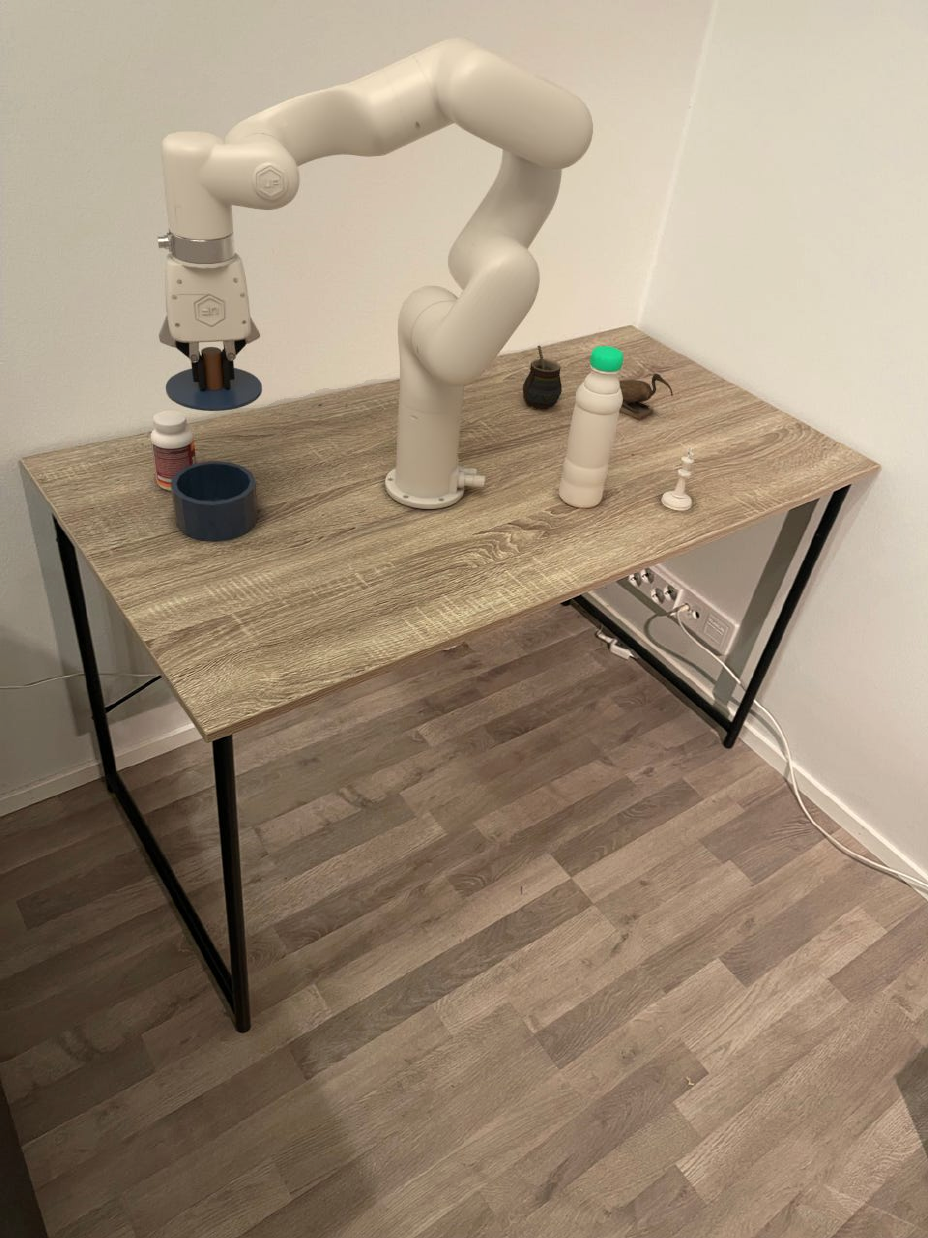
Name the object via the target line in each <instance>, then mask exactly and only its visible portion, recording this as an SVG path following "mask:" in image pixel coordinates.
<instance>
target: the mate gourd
mask: <svg viewBox="0 0 928 1238" xmlns="http://www.w3.org/2000/svg"><path fill="white" fill-rule="evenodd" d="M537 349H538V355H539V358H537V359H534V360H532V361H531V362H530V366H529V372H528V375H527V376H526V378H525V380H524V382H523V385H522V397H523V401H524V402H525V404H526V405H527V406H528V407H529V408H532V409H533V410H538V411H546V410H550V409H551V408H553V407H555V405H557V403H558V402H559V401H558V400H559V399H560V397H561V395H562V392H563V387H562V380H561V376H560V374H561V369H562V367H561V365H560V363H558V362H557V361H555V360H552V359H546V358H544V356H543V350H542V347H541V345H537Z"/></svg>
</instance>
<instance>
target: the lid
mask: <svg viewBox="0 0 928 1238" xmlns="http://www.w3.org/2000/svg"><path fill="white" fill-rule="evenodd" d="M200 355H201V356H202V360H203V363H204V373H205V385H206V389H204V390H202V391H200V387H199V383H198V382H194V381H193V376H192V367H191V368H188V369H185V370H181V371H179V372H178V373H176V374H174V375H173V376H171V377H170V378H168V380H167V382H166V383H165V392H166V395H167V397H168V399H170V400H171V401H172V402H174V403H175V404H177V405H179V406H182V407H184V408H188V409H191V410H196V411H205V412H222V411H224V412H225V411H231V410H236V409H240V408H243V407H246V406H249V405H251V404H252V403H254V402H255V401H257V400H258V399H259V398H260V396H261V395H262V392H263V384H262V382H261V381H260V378H258V376H256V375H254V374H252V373H251V372H249V371H247V370H244V369H241V368H237V367H234V377H235V380H230V386H231V389H227V388H225V386H224V378H223V365H222V349H221V348H219V347H216V346H207V347H203V348H202V349H201V350H200Z"/></svg>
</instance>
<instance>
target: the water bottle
mask: <svg viewBox="0 0 928 1238" xmlns="http://www.w3.org/2000/svg"><path fill="white" fill-rule="evenodd" d="M623 363H624V353H623V351H622V350H620V349H618V348H616V347H615V346H614V347H613V346H610V345H599V346H596V347H594V348H593V349H592V351H591V353H590V357H589V367H590V368H591V370H590V372H589V373H588V374H587V375H586V377H584V380H583V381H582V383H581V384H580V385H579V386H578V388H577V390H576V392H575V397H574V398H575V399H574V400H575V404H574V407H573V411H572V416H571V420H570V424H569V425H570V426H569V432H568V436H567V437H568V438H567V443H566V446H567V447H566V454H565V457H564V459H563V460H564V461H563V465H562V475H561V478H560V481H559V487H558V496H559V498H560V499H561V501H563V502H564V503H566V504H567V505H569V506H572V507H574V508H581V509H588V508H589V509H590V508H593V507H595V506H597V505H599V504H600V503H601V501H602V499H603V497H604V491H605V481H606V479H607V476H608V471H609V460H610V458H611V456H612V455H611V454H612V451H613V448H614V443H615V439H616V434H617V429H618V423H619V417H620V411H619V409H620V408H621V406H622V402H623V396H622V392H621V389H620V383H619V381H620V380H619V378H618V373H620V371H621V369H622V367H623Z"/></svg>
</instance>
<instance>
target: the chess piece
mask: <svg viewBox="0 0 928 1238" xmlns="http://www.w3.org/2000/svg"><path fill="white" fill-rule="evenodd" d="M693 451H694V448H693V447H689V448H686V449H685V450H684V452H685V453H686V454H687V455H685V456H681V468H679V469H678V470H677V474H678V475H679V477H678V480H677V482H676V485H675V488H674V490H669V491H666V492H664V493H663V495H662V497H661V500H660V501H661V503H662V504H663V506H664V507H666V508H668V509H671V510H672V511H679V512H683V511H687V510H689V509H691V507H692V505H693V500H692V498H691V497H690V496H689V495H688V494H687V493H685V490H686V483H687V478H689V477H691V475H692V472H691V468H692V466H693V464H694V463H695V459H694V457H695V453H693Z"/></svg>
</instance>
